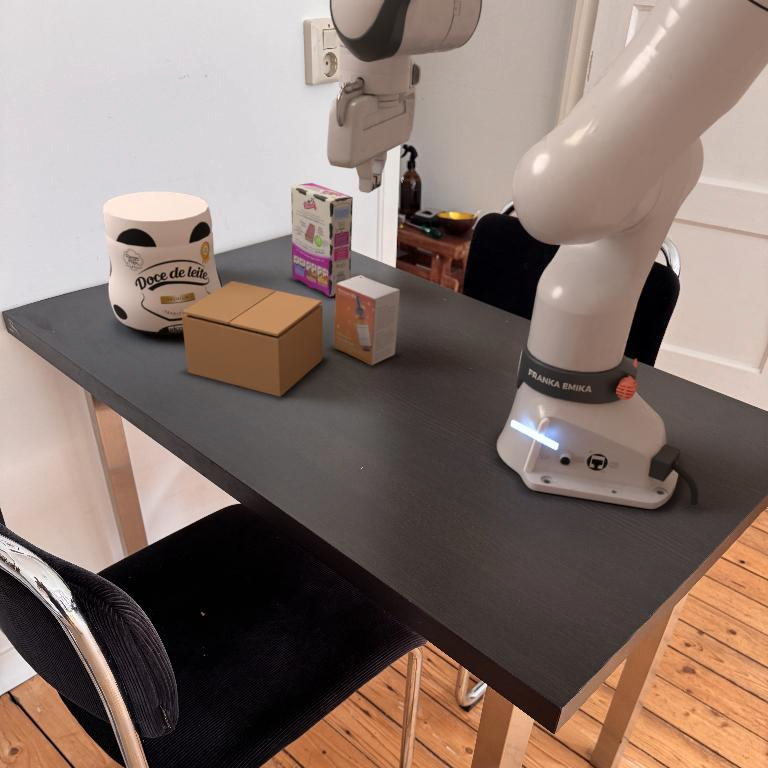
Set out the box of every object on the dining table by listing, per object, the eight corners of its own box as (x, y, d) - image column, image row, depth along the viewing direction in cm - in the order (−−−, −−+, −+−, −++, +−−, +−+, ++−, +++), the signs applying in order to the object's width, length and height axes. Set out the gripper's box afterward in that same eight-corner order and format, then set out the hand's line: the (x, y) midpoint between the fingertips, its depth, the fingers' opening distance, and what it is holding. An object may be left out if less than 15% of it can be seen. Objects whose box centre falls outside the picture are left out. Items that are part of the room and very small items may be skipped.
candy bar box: (352, 292, 140) (354, 196, 130) (330, 298, 137) (331, 201, 127) (312, 273, 146) (312, 180, 136) (291, 279, 143) (289, 185, 133)
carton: (322, 359, 118) (322, 300, 112) (280, 397, 108) (278, 333, 103) (235, 338, 122) (232, 280, 117) (187, 372, 112) (181, 310, 107)
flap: (322, 303, 113) (322, 300, 112) (277, 336, 103) (277, 333, 103) (276, 293, 115) (276, 290, 114) (229, 325, 105) (229, 322, 105)
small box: (333, 349, 121) (334, 282, 115) (357, 338, 125) (360, 273, 118) (371, 366, 117) (375, 298, 111) (396, 355, 120) (400, 288, 114)
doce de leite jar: (177, 354, 117) (162, 232, 106) (89, 326, 123) (68, 208, 112) (246, 315, 129) (240, 203, 118) (164, 292, 135) (151, 182, 125)
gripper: (363, 87, 89) (359, 212, 98) (426, 67, 105) (418, 176, 113) (314, 81, 91) (314, 204, 99) (382, 62, 106) (378, 170, 115)
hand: (370, 189), depth 106 cm, fingers closed
